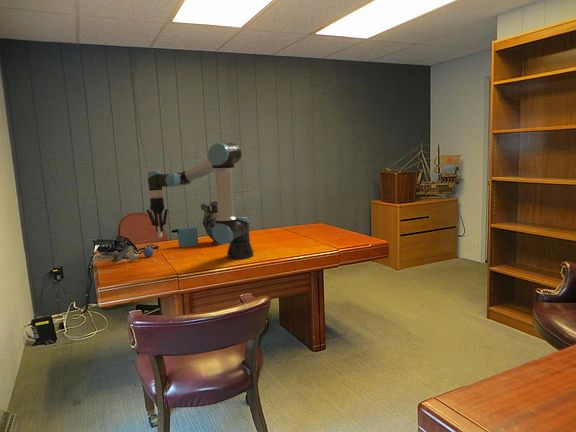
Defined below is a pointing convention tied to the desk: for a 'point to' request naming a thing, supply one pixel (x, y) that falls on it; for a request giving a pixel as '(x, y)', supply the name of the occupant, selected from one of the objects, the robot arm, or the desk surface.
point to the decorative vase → (210, 218)
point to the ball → (148, 251)
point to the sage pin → (131, 253)
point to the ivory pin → (134, 255)
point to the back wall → (120, 255)
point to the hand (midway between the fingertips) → (160, 237)
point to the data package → (188, 237)
